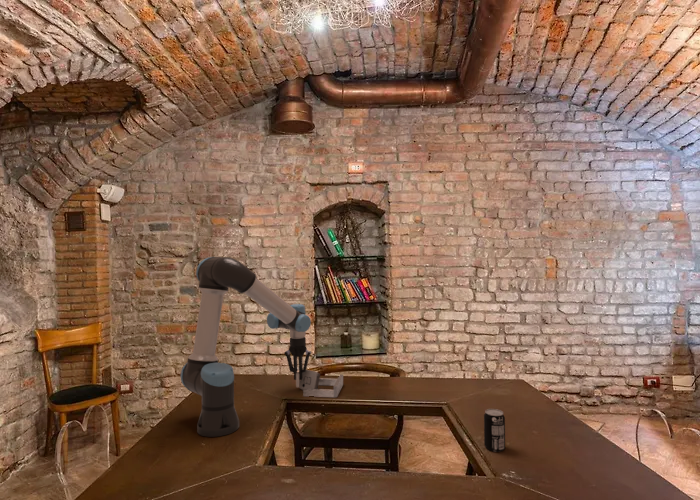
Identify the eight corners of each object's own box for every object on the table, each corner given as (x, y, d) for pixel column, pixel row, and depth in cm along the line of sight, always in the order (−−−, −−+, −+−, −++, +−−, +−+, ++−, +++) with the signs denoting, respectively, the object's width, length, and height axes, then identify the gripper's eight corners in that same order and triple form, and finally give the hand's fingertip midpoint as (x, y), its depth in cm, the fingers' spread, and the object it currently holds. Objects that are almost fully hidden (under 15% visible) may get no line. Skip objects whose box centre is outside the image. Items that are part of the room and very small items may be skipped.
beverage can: (488, 441, 149) (488, 406, 149) (508, 447, 145) (507, 411, 145) (481, 448, 144) (480, 412, 144) (500, 454, 140) (500, 417, 140)
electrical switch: (298, 389, 208) (300, 369, 208) (306, 387, 212) (307, 368, 212) (313, 393, 202) (314, 372, 203) (320, 391, 206) (321, 371, 207)
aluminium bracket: (336, 397, 196) (336, 386, 196) (303, 396, 198) (303, 385, 198) (343, 384, 213) (343, 374, 213) (312, 383, 216) (312, 373, 216)
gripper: (312, 335, 210) (313, 384, 210) (286, 335, 212) (287, 383, 212) (309, 338, 203) (310, 389, 203) (282, 338, 204) (282, 388, 205)
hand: (298, 386), depth 207 cm, fingers closed
